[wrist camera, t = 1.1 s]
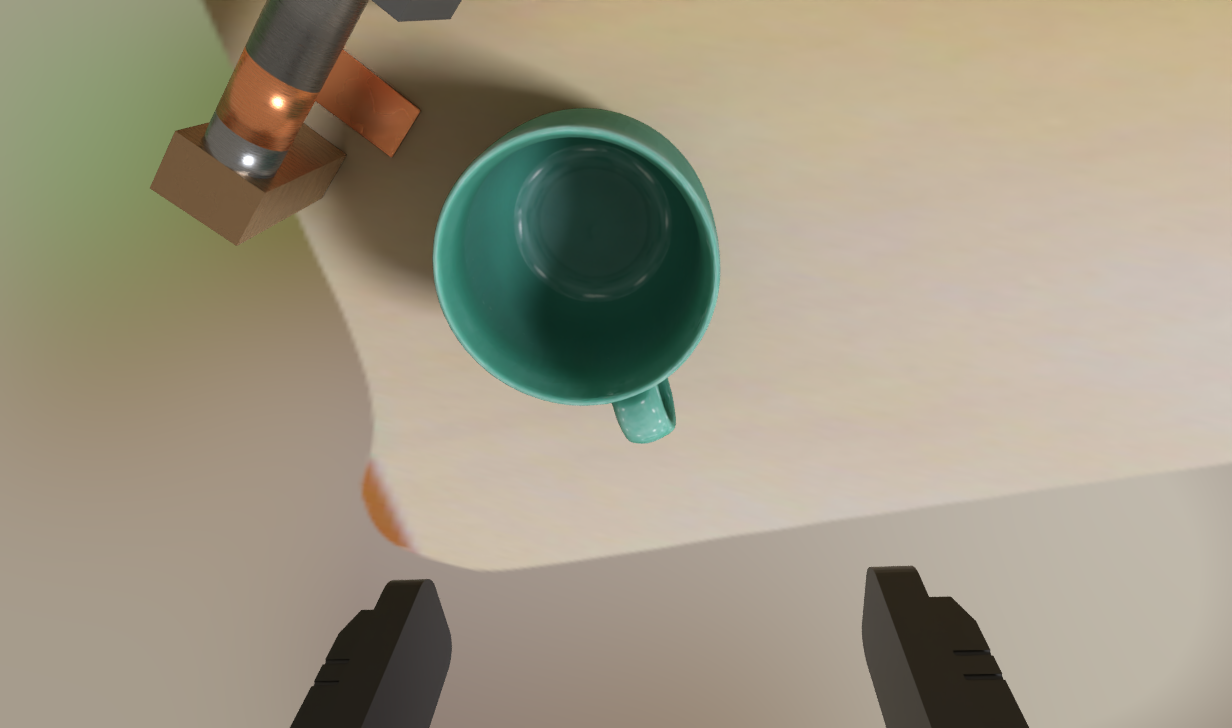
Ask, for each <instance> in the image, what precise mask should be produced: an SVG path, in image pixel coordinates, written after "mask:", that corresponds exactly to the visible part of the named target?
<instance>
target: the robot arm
mask: <svg viewBox="0 0 1232 728" xmlns="http://www.w3.org/2000/svg"><path fill="white" fill-rule="evenodd" d="M862 639H863V646H864V652H865V657H866V661H867V665H868V669H869V672H870V675H871V678H872V681H873V685H874V688H875V692H876V695H877V698H878V702H879V705H880V708H881V711H882V715H883V718H884V721H885V725H886V728H1029V726H1028V725H1027V722H1026V721H1025V719H1024V717H1023V714H1022V712H1021V710H1020V709H1019V706H1018V704H1017V703H1016V701H1015V698H1014V697H1013V694H1012V692H1011V690H1010V689H1009V687H1008V684H1007V683H1006V681H1005V680H1003V677H1002V672H1001V670H1000V668H999V666H998V664H997V663H996V661H995V658H994V656H991V653H990V649H989V646H988V644H987V642H986V640H985V638H984V637H983V634H982V632H981V631H980V628H979V627H978V624H977V622H976V621H975V620H974V619H973V618H972V617H971V616H970V615H969V614H968V613H967V612H966V611H965V610H964V609H963V608H962V607H961V606H960V605H959V604H958V603H957V602H956V601H955V600H954V599H953V598H952V597H929V596H928V594H927V591H926V589H925V587H924V585H923V582H922V580H921V578H920V575H919V573H918V571H917V570H916V568H915V567H913V566H891V567H890V566H889V567H869V568H868V570H867V575H866V586H865V597H864V609H863V620H862ZM451 651H452V642H451V634H450V630H449V628H448V625H447V622H446V618H445V616H444V612H443V609H442V606H441V603H440V600H439V597H438V594H437V591H436V588H435V585H434V583H433V581H431V580H430V579H419V580H392V581H390V582H389V583H387V585H386V586H385V588H384V590H383V592H382V594H381V596H380V598H379V600H378V602H377V604H376V606H375V608H374V610H361V611H360V612H359V613H358V614H357V615H356V616H355V617H354V618H353V620H351V621H350V622H349V623H348V625H347V626H346V627H345V628H344V629H343V630H342V631H341V632H340V633H339V634H338V637H337V638H336V640H335V642H334V644H333V646H332V648H331V650H330V652H329V654H328V656H327V657H326V663H325V665H322V667H321V669H320V671H319V673H318V675H317V677H316V679H315V681H314V682H315V684H314V686H312V687H311V688H310V690H309V692H308V694H307V696H306V698H305V700H304V702H303V704H302V705H301V708H300V709H299V711H298V713H297V715H296V717H295V719H294V721H293V723H292V725H291V727H290V728H429V727H430V724H431V721H432V718H433V715H434V712H435V708H436V706H437V702H438V699H439V696H440V693H441V690H442V687H443V684H444V681H445V678H446V675H447V672H448V669H449V665H450V660H451Z"/></svg>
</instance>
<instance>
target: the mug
mask: <svg viewBox="0 0 1232 728" xmlns="http://www.w3.org/2000/svg"><path fill="white" fill-rule="evenodd" d="M433 274H434V282H435V287H436V291H437V295H438V299H439V303H440V306H441V308H442V311H443V314H444V316H445V318H446V320H447V322H448V324H449V326H450V328H451V330H452V331H453V333H454V334H455V336H456V338H457V339H458V341H459V342H460V343H461V345H462V346H463V347H464V349H465V350H466V351H467V352H468V353H469V354H470V355H471V356H472V357H473V358H474V360H475V361H476V362H477V363H478V364H480V365H481V366H482V367H483V368H484V369H485V370H486V371H488V372H489V373H490V374H491V375H493V376H494V377H495V378H497V379H499V380H500V381H502V382H503V383H505V384H507V385H508V386H510V387H512V388H514V389H516V390H518V391H520V392H522V393H524V394H527V395H530V396H532V397H535V398H538V399H541V400H545V401H549V402H553V403H559V404H565V405H599V404H608V403H612V405H613V408H614V412H615V415H616V418H617V420H618V423H619V425H620V427H621V430H622V431H623V433H624V435H625V436H626V438H627V439H628V440H629V441H631V442H633V443H650V442H653V441H656V440H658V439H660V438H662V437H664V436H666V435H668V434H669V433H670V432H672V431H673V430H674V428H675V425H676V417H675V409H674V402H673V397H672V392H671V389H670V385H669V381H668V377H669V376H670V375H671V374H673V373H674V372H675V371H676V370H677V369H678V368H679V367H680V366H681V365H682V364H683V363H684V362H685V361H686V360H687V359H688V357H689V356H690V355H691V354H692V352H693V351H694V349H695V348H696V346H697V345H698V343H699V342H700V341H701V339H702V337H703V335H704V333H705V332H706V330H707V327H708V325H709V323H710V321H711V318H712V315H713V312H714V309H715V305H716V301H717V297H718V292H719V284H720V255H719V245H718V237H717V232H716V227H715V222H714V218H713V214H712V210H711V207H710V204H709V201H708V199H707V196H706V193H705V191H704V188H703V186H702V184H701V182H700V180H699V178H698V176H697V175H696V173H695V171H694V170H693V168H692V167H691V165H690V164H689V162H688V161H687V160H686V158H685V157H684V156H683V155H682V154H681V152H680V151H679V150H678V149H677V148H676V147H675V146H674V145H673V144H672V143H671V142H670V141H669V140H668V139H666V138H665V137H664V136H663V135H661V134H660V133H659V132H657V131H656V130H654V129H653V128H651V127H649V126H648V125H646V124H644V123H642V122H640V121H638V120H636V119H634V118H631V117H629V116H626V115H623V114H620V113H616V112H612V111H607V110H602V109H591V108H577V109H567V110H560V111H556V112H552V113H548V114H545V115H542V116H539V117H537V118H534V119H532V120H530V121H528V122H526V123H523V124H522V125H520V126H518V127H516V128H515V129H513V130H511V131H510V132H508V133H507V134H505V135H504V136H503V137H501V138H500V139H498V140H497V141H496V142H495V143H493V144H492V145H491V146H489V147H488V148H487V149H486V150H485V151H484V152H483V153H482V154H480V155H479V156H478V157H477V158H476V159H475V160H474V161H473V162H472V163H471V164H470V165H469V166H468V167H467V168H466V169H465V171H464V172H463V173H462V175H461V176H460V177H459V179H458V180H457V181H456V183H455V184H454V186H453V187H452V189H451V191H450V193H449V194H448V196H447V198H446V200H445V202H444V205H443V207H442V210H441V212H440V215H439V219H438V222H437V226H436V230H435V235H434V242H433Z"/></svg>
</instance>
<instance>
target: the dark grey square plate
mask: <svg viewBox="0 0 1232 728" xmlns="http://www.w3.org/2000/svg"><path fill="white" fill-rule="evenodd" d="M372 1H373V2H375V3H376V4H377V5H378V6H380V7H381V8H382V9H383V10H384V11H386V12H387V13H388V14H389V15H391V16H392V17H393V18H394V19H396V20H397V21H398V22H400V21H422V20H443V19H451V17H452V15H453V14H454V12H455V10H456V9H457V7H458V5H459V4H460V2H461V0H372Z"/></svg>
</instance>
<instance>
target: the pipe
mask: <svg viewBox="0 0 1232 728" xmlns="http://www.w3.org/2000/svg"><path fill="white" fill-rule="evenodd" d="M368 1H369V0H267V1H266V3H265V5H264V7H263V10H262V12H261V14H260V16H259V18H258V20H257V22H256V25H255V27H254V29H253V31H252V33H251V35H250V37H249V39H248V42H247V44H246V46H245V48H244V50H243V52H242V54H241V57H240V59H239V61H238V63H237V65H236V67H235V69H234V72H233V74H232V76H231V78H230V80H229V82H228V84H227V87H226V89H225V91H224V93H223V95H222V97H221V100H220V102H219V104H218V106H217V108H216V110H215V112H214V115H213V117H212V119H211V121H210V122H209V123H205V124H201V125H197V126H193V127H189V128H185V129H181V130H178V131H175V133H174V135H173V137H172V140H171V142H170V144H169V146H168V148H167V151H166V153H165V155H164V157H163V160H162V162H161V164H160V167H159V169H158V171H157V173H156V175H155V178H154V180H153V182H152V184H151V187H150V189H152V190H153V191H155V192H157V193H158V194H159V195H161V196H162V197H164V198H165V199H167V200H168V201H170V202H171V203H173V204H175V205H176V206H177V207H179V208H180V209H182V210H183V211H185V212H187V213H188V214H190V215H191V216H192V217H194V218H196V219H197V220H199V221H200V222H202V223H203V224H205V225H206V226H208V227H209V228H211V229H212V230H214V231H215V232H217V233H218V234H220V235H221V236H223V237H224V238H226V239H227V240H229V241H230V242H232V243H233V244H235V245H236V246H237V245H239V244H241V243H242V242H244V241H246V240H248V239H250V238H252V237H253V236H255V235H257V234H259V233H260V232H262V231H264V230H266V229H268V228H269V227H271V226H273V225H275V224H277V223H278V222H280V221H282V220H283V219H285V218H287V217H289V216H291V215H293V214H294V213H296V212H298V211H300V210H301V209H303V208H305V207H307V206H309V205H310V204H312V203H314V202H316V201H317V200H319V199H321V198H322V197H323V195H324V193H325V192H326V190H327V188H328V186H329V185H330V183H331V181H332V179H333V178H334V176H335V174H336V173H337V171H338V169H339V167H340V166H341V164H342V162H343V160H344V159H345V157H346V154H345V153H343V152H342V151H341V150H339V149H338V148H337V147H335V146H334V145H333V144H331V143H330V142H329V141H327V140H326V139H324V138H323V137H322V136H320V135H319V134H318V133H316V132H315V131H314V130H312V129H311V128H309V127H308V126H307V125H305V124H304V121H305V119H306V117H307V115H308V113H309V111H310V109H311V108H312V106H313V104H314V102H315V101H317V102H318V103H319V104H321V105H322V106H323V107H325V108H326V109H327V110H329V111H330V112H331V113H333V114H334V115H335V116H337V117H338V118H339V119H341V120H342V121H343V122H345V123H346V124H347V125H349V126H350V127H351V128H353V129H354V130H355V131H357V132H358V133H359V134H361V135H362V136H363V137H365V138H366V139H367V140H369V141H370V142H371V143H373V144H374V145H375V146H377V147H378V148H379V149H381V150H382V151H383V152H385V153H386V154H387V155H389V156H390V157H393V156H394V154H395V152H396V151H397V149H398V147H399V146H400V144H401V143H402V141H403V139H404V138H405V136H406V134H407V133H408V131H409V129H410V128H411V126H412V125H413V123H414V121H415V120H416V118H417V116H418V115H419V113H420V112H421V110H420V109H419V108H417V107H416V106H415V105H413V104H412V103H411V102H410V101H408V100H407V99H406V98H404V97H403V96H402V95H401V94H399V93H398V92H397V91H395V90H394V89H393V88H392V87H390V86H389V85H388V84H387V83H385V82H384V81H383V80H381V79H380V78H379V77H378V76H376V75H375V74H374V73H372V72H371V71H370V70H369V69H367V68H366V67H365V66H363V65H362V64H361V63H360V62H358V61H357V60H356V59H354V58H353V57H352V56H351V55H349V54H348V53H347V52H345V51H344V50H343V48H344V46H345V44H346V42H347V40H348V38H349V37H350V35H351V33H352V31H353V29H354V27H355V25H356V23H357V22H358V20H359V18H360V16H361V14H362V12H363V10H364V8H365V7H366V5H367V3H368Z"/></svg>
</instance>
